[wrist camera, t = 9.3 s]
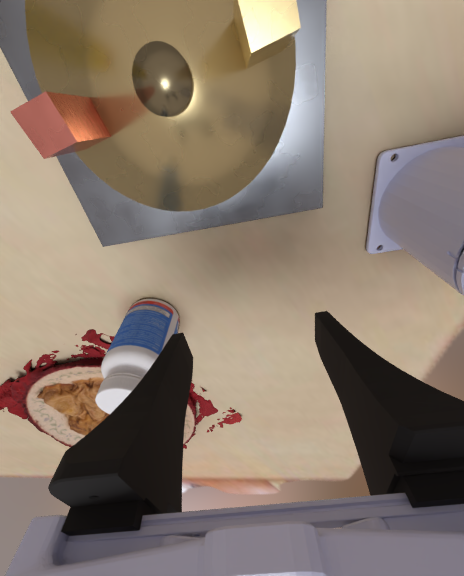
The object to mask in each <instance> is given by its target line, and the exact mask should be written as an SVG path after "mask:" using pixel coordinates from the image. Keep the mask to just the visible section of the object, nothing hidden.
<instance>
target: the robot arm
mask: <svg viewBox="0 0 464 576" xmlns="http://www.w3.org/2000/svg"><path fill="white" fill-rule="evenodd" d="M393 154H395V155H396V156H395V159H394V160H392V161H391V156H392V155H393ZM379 245H381V247H380V248H378V249H377V247H378V246H379ZM401 249H404V250H405V251H407V252H408V253H409V254H410V255H412V256H413V257H414V258H416V259H417V260H418V261H419V262H421V263H422V264H423V265H425V266H426V267H427V268H428V269H430V270H431V271H432V272H434V273H435V274H436V275H438V276H439V277H440V278H441V279H443V280H444V281H445V282H447V283H448V284H449V285H450V286H452V287H453V288H454V289H456V290H457V291H458V292H459V293H461V294H462V295H464V135H463V136H458V137H453V138H448V139H442V140H437V141H432V142H427V143H422V144H417V145H412V146H407V147H402V148H396V149H391V150H386V151H383V152H382V153H381V154H380V155H379V156H378V159H377V166H376V174H375V181H374V189H373V197H372V205H371V213H370V221H369V229H368V237H367V244H366V250H367V252H368V253H370V254H375V253H381V252H388V251H394V250H401ZM315 342H316V345H317V348H318V351H319V354H320V357H321V360H322V362H323V364H324V366H325V369H326V371H327V373H328V375H329V377H330V380H331V382H332V384H333V386H334V388H335V390H336V393H337V395H338V397H339V400H340V402H341V404H342V407H343V410H344V413H345V416H346V419H347V422H348V425H349V428H350V431H351V434H352V437H353V440H354V443H355V446H356V449H357V452H358V455H359V459H360V462H361V465H362V468H363V472H364V475H365V478H366V481H367V485H368V488H369V492H370V495H371V496H362V497H350V498H339V499H327V500H315V501H305V502H292V503H281V504H270V505H258V506H246V507H235V508H223V509H212V510H200V511H189V512H182V507H181V506H182V504H181V503H182V460H183V440H184V426H185V417H186V410H187V404H188V398H189V393H190V387H191V380H192V372H193V356H192V354H191V351H190V349H189V346H188V344H187V341H186V339H185V336H184V334H183V333H178V334H172V336H171V337H170V339H169V340H168V342H167V343H166V345H165V346H164V348H163V350H162V351H161V353H160V354H159V356H158V357H157V359H156V360H155V362H154V363H153V365H152V366H151V367H150V369H149V370H148V371H147V373H146V374H145V375H144V377H143V378H142V379H141V381H140V382H139V383H138V385H137V386H136V387H135V388H134V389H133V391H132V392H131V393H130V394H129V395H128V396H127V397H126V398H125V399H124V400H123V402H122V403H121V404H120V405H119V406H118V407H117V408H116V409H115V410H114V411H113V412H112V413H111V414H110V415H109V416H107V417H106V418H105V419H104V420H103V421H102V422H101V423H100V424H99V425H98V426H96V427H95V428H94V429H93V430H92V431H91V432H89V433H88V434H87V435H86V436H85V437H83V438H82V439H81V440H80V441H78V442H77V443H76V444H74V445H73V446H72V447H71V448H69V449H68V450H67V451H66V452H65V454H64V456H63V458H62V460H61V462H60V464H59V466H58V468H57V470H56V472H55V474H54V476H53V478H52V480H51V482H50V484H49V491H50V493H51V494H52V495H53V496H54V497H56V498H57V499H59V500H60V501H62V502H64V503H65V504H67V505H68V506H70V507H71V508H70V510H69V513H68V515H67V516H63V515H52V516H43V517H42V516H41V517H35V518H33V519H32V521H31V523H30V525H29V527H28V529H27V531H26V533H25V535H24V537H23V539H22V541H21V543H20V545H19V547H18V550H17V551H16V554H15V556H14V558H13V560H12V562H11V564H10V566H9V568H8V570H7V572H6V574H5V576H464V401H462V400H460V399H458V398H455V397H453V396H451V395H448V394H446V393H444V392H442V391H440V390H437V389H436V388H433V387H432V386H430V385H428V384H425V383H424V382H422V381H420V380H418V379H416V378H414V377H413V376H411V375H409V374H407V373H406V372H404V371H402V370H400V369H399V368H397V367H396V366H394V365H392V364H391V363H389V362H388V361H386V360H385V359H383V358H382V357H380V356H379V355H378V354H376V353H375V352H373V351H372V350H371V349H369V348H368V347H367V346H366V345H364V344H363V343H362V342H361V341H359V340H358V339H357V338H356V337H355V336H353V335H352V334H351V333H350V332H349V331H348V330H347V329H345V328H344V327H343V326H342V325H341V324H340V323H339V322H338V321H337V320H336V319H335V318H334V317H333V316H332V315H331V314H330V313H329V312H327V311H324V312H318V313H315ZM341 527H342V528H341Z"/></svg>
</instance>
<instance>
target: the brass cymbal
mask: <svg viewBox="0 0 464 576" xmlns="http://www.w3.org/2000/svg"><path fill="white" fill-rule="evenodd" d="M25 15H26V31H27V38H28V44H29V50H30V56H31V60H32V63H33V67H34V71H35V75H36V78H37V81H38V84H39V87H40V89H41V92H42V94H40V95H38V96H37V97H35V98H33V99H31V100H30V101H28V102H26V103H25V104H23V105H21V106H19V107H18V108H16V109H14V110H12V111H11V114H12V115H13V116H14V118H15V119H16V121H17V122H18V123H19V125H20V126H21V127H22V129H23V130H24V132H25V133H26V134H27V136H28V137H29V139H30V140H31V141H32V143H33V144H34V146H35V147H36V148H37V150H38V151H39V152H40V154H41V155H42V157H43V158H44V159H45V158H50V157H54V156H59V155H64V154H68V153H73V152H75V153H76V154H77V155H78V157H79V158H80V159H81V160H82V161H83V162H84V163H85V165H86V166H87V167H88V168H89V169H90V170H91V171H92V172H93V173H95V174H96V175H97V176H98V177H99V178H100V179H101V180H102V181H104V182H105V183H106V184H108V185H109V186H110V187H111V188H113V189H114V190H116V191H118V192H119V193H121V194H122V195H124V196H126V197H128V198H130V199H132V200H134V201H136V202H138V203H141V204H143V205H146V206H149V207H152V208H157V209H161V210H166V211H177V212H181V211H195V210H201V209H205V208H208V207H212V206H215V205H217V204H220V203H222V202H224V201H226V200H228V199H230V198H231V197H233V196H234V195H236V194H237V193H239V192H240V191H241V190H243V189H244V188H245V187H246V186H247V185H248V184H250V183H251V182H252V181H253V180H254V178H255V177H256V176H257V175H258V174H259V173H260V172H261V171H262V169H263V168H264V166H265V165H266V163H267V162H268V161H269V159H270V158H271V156H272V154H273V152H274V150H275V149H276V147H277V145H278V143H279V140H280V138H281V136H282V133H283V131H284V128H285V125H286V122H287V118H288V115H289V112H290V108H291V103H292V97H293V92H294V84H295V71H296V46H295V35H296V33H297V32H298V31H299V30H300V28H301V25H300V19H299V13H298V7H297V1H296V0H25Z"/></svg>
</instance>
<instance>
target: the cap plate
mask: <svg viewBox="0 0 464 576" xmlns="http://www.w3.org/2000/svg"><path fill="white" fill-rule="evenodd" d="M296 1H297V7H298V13H299V19H300V25H301V28H300V30H299V31H298V32H297V33H296V35H295V46H296V71H295V84H294V92H293V97H292V103H291V108H290V112H289V115H288V118H287V122H286V125H285V128H284V131H283V133H282V136H281V138H280V140H279V143H278V145H277V147H276V149H275V150H274V152H273V154H272V156H271V158H270V159H269V161H268V162H267V163H266V165H265V166H264V168H263V169H262V171H261V172H260V173H259V174H258V175H257V176H256V177H255V178H254V180H253V181H252V182H251V183H250V184H248V185H247V186H246V187H245V188H244V189H243V190H241V191H240V192H239V193H237V194H236V195H234V196H233V197H231V198H230V199H228V200H226V201H224V202H222V203H220V204H217V205H215V206H212V207H208V208H205V209H201V210H195V211H181V212H177V211H166V210H161V209H157V208H152V207H149V206H146V205H143V204H141V203H138V202H136V201H134V200H132V199H130V198H128V197H126V196H124V195H122V194H121V193H119V192H118V191H116V190H114V189H113V188H111V187H110V186H109V185H108V184H106V183H105V182H104V181H102V180H101V179H100V178H99V177H98V176H97V175H96V174H95V173H93V172H92V171H91V170H90V169H89V168H88V167H87V166H86V165H85V163H84V162H83V161H82V160H81V159H80V158H79V157H78V155H77V154H76V153H75V152H73V153H68V154H64V155H59V156H57V158H58V160H59V162H60V164H61V166H62V168H63V170H64V172H65V174H66V176H67V178H68V180H69V182H70V184H71V185H72V187H73V189H74V191H75V193H76V195H77V197H78V199H79V201H80V203H81V205H82V207H83V209H84V211H85V213H86V215H87V217H88V218H89V220H90V222H91V224H92V226H93V228H94V230H95V232H96V234H97V236H98V238H99V240H100V242H101V244H102V246H103V247H104V246H110V245H115V244H121V243H127V242H132V241H138V240H144V239H149V238H155V237H160V236H166V235H172V234H177V233H183V232H189V231H194V230H200V229H206V228H211V227H217V226H222V225H228V224H234V223H239V222H245V221H251V220H256V219H262V218H268V217H273V216H279V215H284V214H290V213H296V212H301V211H307V210H313V209H318V208H323V157H324V104H325V51H326V0H296ZM0 48H1V50H2V51H3V53H4V55H5V57H6V59H7V61H8V63H9V65H10V67H11V69H12V71H13V73H14V75H15V77H16V79H17V81H18V83H19V84H20V86H21V88H22V90H23V92H24V94H25V96H26V98H27V100H28V101H30V100H31V99H33V98H35V97H37V96H38V95H40V94H42V92H41V89H40V87H39V84H38V81H37V78H36V75H35V71H34V67H33V63H32V60H31V56H30V50H29V44H28V38H27V31H26V15H25V0H0Z"/></svg>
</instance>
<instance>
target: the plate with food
mask: <svg viewBox="0 0 464 576" xmlns="http://www.w3.org/2000/svg"><path fill="white" fill-rule="evenodd" d="M101 334H103V333H101ZM101 334H96V331H95V330H93V329H91V330H88V331H87V333H86V334H85V335H84V336H83V337H81V338H82V341H88V342H89V343H94V344H95V345H98V346H99V347H95V348H93V345H91V346H90V345H89V346H87V347H85V346H86V345H82V347H83V348H81V350H83V354H77V355H71V356H72V357H71V358H73V357H74V358H77V357H83V358H84V359H80V360H79V361H74V362H69V363H65V364H60V365H55V363H58V362H57V361H53V359H54V358H55V357H56V355H55V356H54V357H50V355H54V354H50V355H47V354H45V355H42V357H40V358H39V360H38V361H37V366H35V370H33V371H32V370H31V361H32V360H31V361H29V362H28V363H27V364H26V365H25V366H24V370H26V372H27V375H26V376H24V377H22V378H17V379H16V380H15V381H14V382H11V380H7V381H6V382H5V383H4V384H3V385H2V386H0V410H2V409H4V408H5V407H8V408H7V409H8V411H9V412H10V413H12V414H15V415H18V416H19V417H21V418H22V419H27V418H28V417H29V418H28V421H30V423H32V424H33V425H34V426H35V427H36V428H37V429H38V430H39V431H41V432H44V433H46V434H48V435H50V436H51V437H53V438H54V439H55V440H56V441H59V442H60V443H62V444H64V445H65V446H69V447H72V446H73V445H74V444H76V443H77V442H78V441H80V440H81V439H82V438H83V437H85V436H86V435H87V434H88V433H89V432H91V431H92V430H93V429H94V428H95V427H96V426H98V425H99V424H100V423H101V422H102V421H103V420H104V419H105V418H106V417H107V416H109V415H110V414H108V413H106V412H104V411H103V410H101V409H100V408H99V407H98V406H97V404H96V401H95V399H96V395H97V393H98V390H99V388H100V385H101V383H102V382H103V380H104V377H103V375H102V372H101V365H102V361H103V359H104V358H102V357H105V355H106V354H104V353H105V351H104V350H102V349H101V348H100V346H101V347H102V348H103V347H104V348H105V349H109V347H110V344H106V343H103V342H102V341H100V339H99V338H100V337H101ZM76 335H77V334H76ZM107 336H108V335H107ZM114 338H115V337H113V336H110V339H111V341H113V339H114ZM76 346H77V347H79V346H78V345H76ZM81 350H79V351H81ZM52 352H54V353H57V352H59V351H52ZM84 352H85V353H84ZM86 353H88V354H87V355H86ZM91 357H93V358H91ZM100 357H101V358H100ZM50 358H53V359H50ZM89 358H90V359H89ZM96 358H97V359H96ZM44 359H45V360H44ZM67 360H69V359H67ZM45 362H46V363H47V364H46V365H45V366H43V367H40V365H41V364H42V363H45ZM191 381H192V380H191ZM192 387H193V388H192ZM193 389H194V384H193V383H191V387H190V393H189V398H188V404H187V410H186V417H185V426H184V440H183V448H185V449H187V446H186V445H185V443H188V442H189V440H190V439H191V437H193V436H194V435H195V431H196V430H195V429H196V427H195V425H197V424H198V423H199V422H200V421H201V420H202V419H203V418H204V417H205V416H209V415H211V414H215V413H217V412H218V410H217V409H216V408H214V407H213V404H212V402H211V401H210V400H208V401H207V400H205V399H204V397H202V396H200V395H197V394H198V393H197V394H196V393H195V392H193ZM202 390H203V389H202ZM204 391H205V390H203V392H204ZM197 400H198V401H197ZM195 402H199V403H200V404H199V406H200V405H201V406H200V408H199V410H200V411H199V412H200V413H201V414H200V415H199V416H198V417H197V418H196V416H195V415H196V410H195V409H196V407H195V405H196V403H195ZM230 409H232V408H231V407H230ZM227 411H229V412H231V413H234V409H233V410H227ZM3 412H4V411H3ZM235 412H236V411H235ZM224 413H226V412H224ZM222 414H223V413H222ZM202 416H203V418H202ZM228 416H231V417H229V418H227V417H228ZM230 418H232V419H230ZM223 419H224V421H222V422H219V423H217V424H219V425H220V427H222V428H223V424H222V423H226V424H234V423H236V422H240V421H241V419H242V418H241V416H240V415H239V413H238V412H237V413H235V414H232V415H227V416H226V418H223ZM217 420H220V419H217ZM214 427H215V426H214V425H212V427H210V431H211V432H212V431H213V430H212V429H213V428H214ZM211 428H212V429H211ZM207 432H209V430H207Z"/></svg>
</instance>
